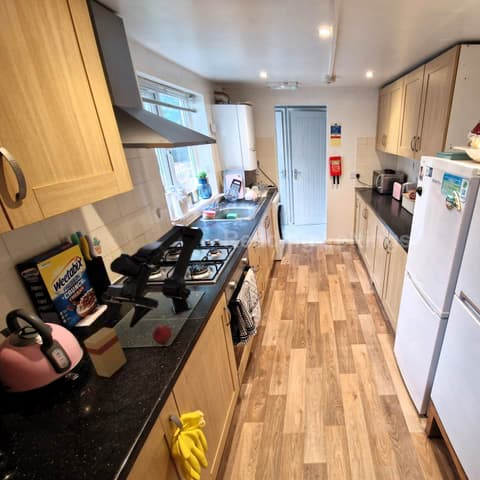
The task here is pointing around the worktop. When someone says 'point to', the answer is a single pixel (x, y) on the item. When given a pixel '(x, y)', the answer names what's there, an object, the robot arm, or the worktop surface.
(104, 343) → the box
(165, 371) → the worktop surface
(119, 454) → the worktop surface
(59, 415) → the worktop surface
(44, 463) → the worktop surface
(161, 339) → the onion
